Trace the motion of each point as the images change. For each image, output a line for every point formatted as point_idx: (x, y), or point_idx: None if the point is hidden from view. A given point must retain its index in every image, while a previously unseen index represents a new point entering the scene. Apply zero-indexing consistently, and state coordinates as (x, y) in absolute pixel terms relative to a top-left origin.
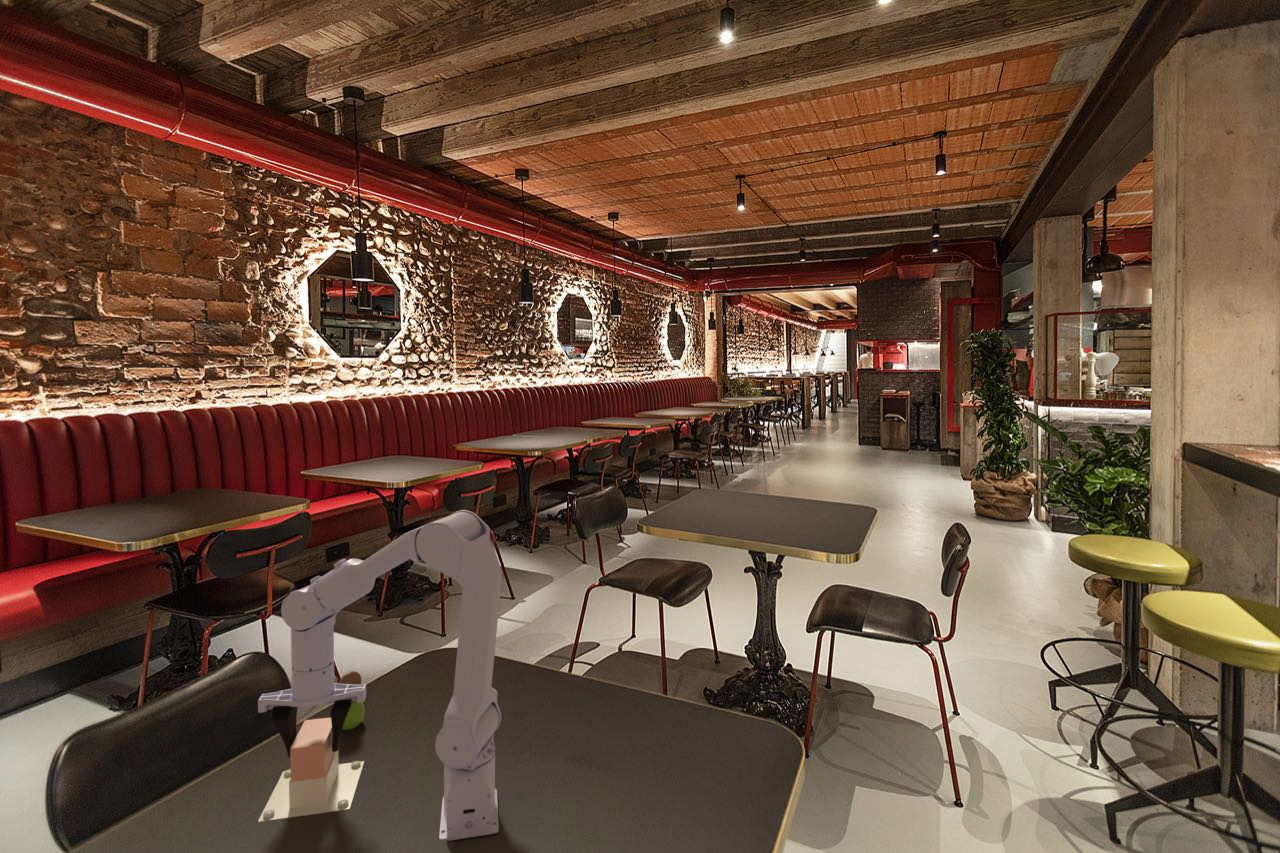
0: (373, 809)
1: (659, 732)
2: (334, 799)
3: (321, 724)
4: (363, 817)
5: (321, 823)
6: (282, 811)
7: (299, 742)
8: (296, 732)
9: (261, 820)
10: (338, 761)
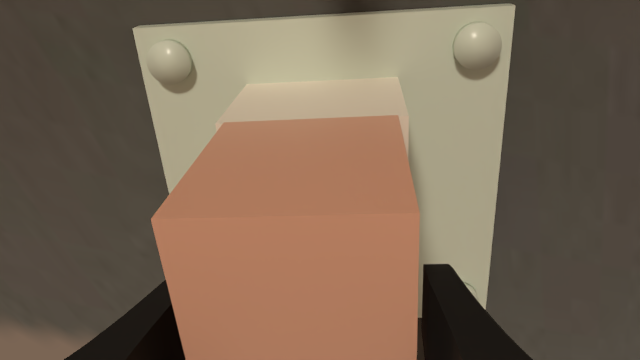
0: (561, 305)
1: None
2: (421, 263)
3: (322, 306)
4: (529, 333)
5: None
6: None
7: None
8: (161, 319)
9: None
10: (401, 92)
